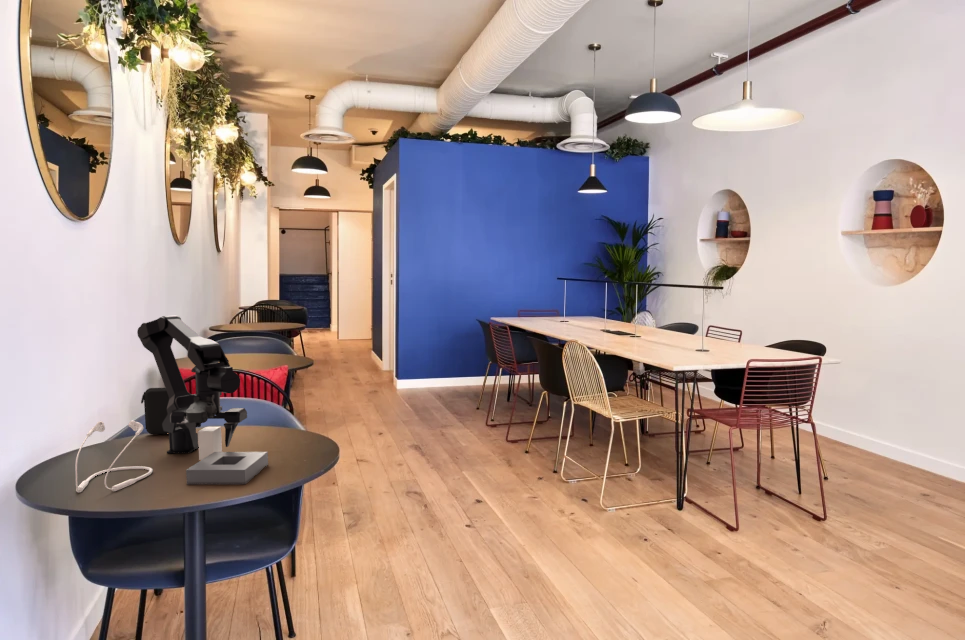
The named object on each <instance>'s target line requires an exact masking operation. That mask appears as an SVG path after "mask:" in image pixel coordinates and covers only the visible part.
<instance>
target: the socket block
mask: <svg viewBox="0 0 965 640" xmlns="http://www.w3.org/2000/svg"><path fill="white" fill-rule="evenodd" d="M267 465H268V466H269V452H268V451H222V452H213V453H212V454H210V455H209V456H207V457H206V458H204V459H202V460H201V461H199V460H198V462H196V463H195V464H192V465H191V466H190V467H189V468H187V469H186V470H185V475H186V478H185V479H186V485H246V484H248V483H249V482H250V481H251V480H252V479H254V478H255V477H256V476H257V475H258V474H260V471H261V470H262V469H263V468H264V467H265V466H266V467H268V466H267ZM266 467H265V468H266ZM265 468H264V469H265ZM264 469H263V470H264ZM263 470H262V471H263ZM262 471H261V472H262ZM255 475H256V476H255ZM254 476H255V477H254Z"/></svg>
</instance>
